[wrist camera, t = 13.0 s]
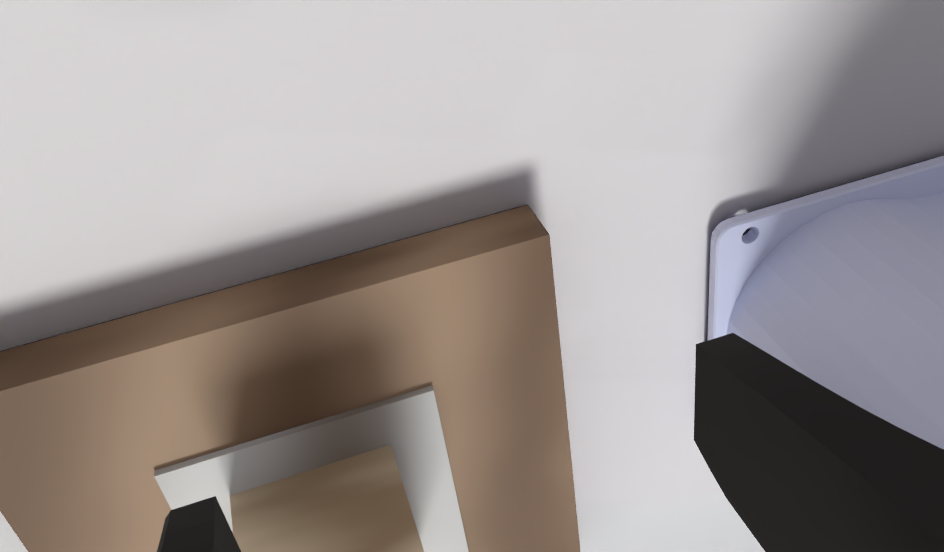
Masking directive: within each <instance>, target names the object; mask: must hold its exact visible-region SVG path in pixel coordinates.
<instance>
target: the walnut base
mask: <svg viewBox="0 0 944 552" xmlns="http://www.w3.org/2000/svg"><path fill="white" fill-rule="evenodd" d="M390 444H391V448H392V451H393V454H394V457H395V460H396V464H397V467H398V470H399V473H400V476H401V479H402V483H403V486H404V489H405V492H406V495H407V499H408V502H409V505H410V508H411V511H412V514H413V518H414V521H415V524H416V527H417V530H418V534H419V537H420V540H421V543H422V546H423V549H424V552H580V544H579V534H578V524H577V514H576V503H575V493H574V483H573V473H572V462H571V452H570V442H569V431H568V421H567V411H566V401H565V390H564V380H563V370H562V360H561V349H560V339H559V329H558V319H557V308H556V298H555V288H554V278H553V267H552V257H551V247H550V237H549V233H548V232H547V231H546V229H545V228H544V227H543V225H542V224H541V222H540V221H539V220H538V218H537V217H536V215H535V214H534V213H533V211H532V210H531V208H530V207H529V206H528V205H525V206H522V207H518V208H515V209H511V210H507V211H504V212H500V213H497V214H493V215H489V216H486V217H482V218H479V219H475V220H471V221H468V222H464V223H461V224H457V225H453V226H450V227H446V228H443V229H439V230H435V231H432V232H428V233H425V234H421V235H418V236H414V237H410V238H407V239H403V240H400V241H396V242H392V243H389V244H385V245H382V246H378V247H374V248H371V249H367V250H364V251H360V252H356V253H353V254H349V255H346V256H342V257H338V258H335V259H331V260H328V261H324V262H321V263H317V264H313V265H310V266H306V267H303V268H299V269H295V270H292V271H288V272H285V273H281V274H277V275H274V276H270V277H267V278H263V279H259V280H256V281H252V282H249V283H245V284H241V285H238V286H234V287H231V288H227V289H223V290H220V291H216V292H213V293H209V294H206V295H202V296H198V297H195V298H191V299H188V300H184V301H180V302H177V303H173V304H170V305H166V306H162V307H159V308H155V309H152V310H148V311H144V312H141V313H137V314H134V315H130V316H126V317H123V318H119V319H116V320H112V321H109V322H105V323H101V324H98V325H94V326H91V327H87V328H83V329H80V330H76V331H73V332H69V333H65V334H62V335H58V336H55V337H51V338H47V339H44V340H40V341H37V342H33V343H29V344H26V345H22V346H19V347H15V348H12V349H8V350H4V351H1V352H0V511H1V513H2V514H3V516H4V517H5V518H6V520H7V521H8V523H9V524H10V526H11V527H12V529H13V530H14V532H15V533H16V534H17V536H18V537H19V539H20V540H21V542H22V543H23V545H24V546H25V547H26V549H27V550H28V552H157V549H158V546H159V542H160V538H161V534H162V530H163V526H164V522H165V518H166V517H167V515H168V514H169V512H170V511H171V510H173V509H176V508H179V507H183V506H186V505H189V504H192V503H195V502H198V501H202V500H205V499H208V498H211V497H214V496H216V498H217V500H218V502H219V505H220V507H221V509H222V511H223V513H224V515H225V518H226V520H227V522H228V524H229V526H230V528H231V531H232V533H233V527H232V517H231V506H230V495H233V494H236V493H240V492H243V491H246V490H249V489H252V488H255V487H258V486H262V485H265V484H268V483H271V482H274V481H277V480H280V479H284V478H287V477H290V476H293V475H296V474H299V473H302V472H306V471H309V470H312V469H315V468H318V467H321V466H324V465H327V464H331V463H334V462H337V461H340V460H343V459H346V458H349V457H353V456H356V455H359V454H362V453H365V452H368V451H371V450H375V449H378V448H381V447H384V446H387V445H390Z"/></svg>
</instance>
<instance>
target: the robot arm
mask: <svg viewBox="0 0 944 552" xmlns="http://www.w3.org/2000/svg"><path fill="white" fill-rule="evenodd" d="M750 227H751V228H750ZM748 228H750V231H749V232H748V233H747V234H745V235H744V236H742V235H743V233H744V232H745V231H746V230H747V229H748ZM694 441H695V442H696V444H697V446H698V448H699V450H700V452H701V454H702V455H703V457H704V459H705V461H706V463H707V465H708V466H709V468H710V470H711V472H712V474H713V475H714V477H715V479H716V481H717V482H718V484H719V486H720V488H721V489H722V491H723V493H724V495H725V496H726V498H727V499H728V501H729V502H730V503H731V505H732V506H733V508H734V509H735V511H736V512H737V513H738V515H739V516H740V517H741V519H742V520H743V522H744V523H745V524H746V526H747V527H748V528H749V530H750V531H751V532H752V534H753V535H754V537H755V538H756V539H757V541H758V542H759V543H760V545H761V546H762V547H763V549H764V550H765V551H766V552H944V156H940V157H937V158H934V159H930V160H927V161H923V162H920V163H917V164H913V165H910V166H906V167H903V168H899V169H896V170H893V171H889V172H886V173H882V174H879V175H875V176H872V177H869V178H865V179H862V180H858V181H855V182H852V183H848V184H845V185H841V186H838V187H834V188H831V189H828V190H824V191H821V192H817V193H814V194H810V195H807V196H804V197H800V198H797V199H793V200H790V201H787V202H783V203H780V204H776V205H773V206H769V207H766V208H763V209H759V210H756V211H752V212H749V213H745V214H742V215H739V216H735V217H732V218H728V219H726V220H724V221H722V222H721V223H719V224H718V225H717V226H716V227H715V229H714V231H713V232H712V236H711V248H710V279H709V310H708V341H705V342H702V343H699V344H696V373H695V418H694ZM157 552H241V550H240V548H239V546H238V544H237V541H236V539H235V537H234V535H233V533H232V531H231V528H230V526H229V524H228V522H227V520H226V518H225V515H224V513H223V511H222V509H221V507H220V505H219V502H218V500H217V498H216V496H214V497H211V498H208V499H205V500H202V501H198V502H195V503H192V504H189V505H186V506H183V507H179V508H176V509H173V510H171V511H170V512H169V514H168V515H167V517H166V518H165V522H164V526H163V530H162V534H161V538H160V542H159V546H158V549H157Z"/></svg>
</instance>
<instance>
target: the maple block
mask: <svg viewBox="0 0 944 552" xmlns="http://www.w3.org/2000/svg"><path fill="white" fill-rule="evenodd" d="M230 506H231V517H232V527H233V535H234V537H235V539H236V541H237V544H238V546H239V548H240V550H241V552H424V549H423V546H422V543H421V540H420V537H419V534H418V530H417V527H416V524H415V521H414V518H413V514H412V511H411V508H410V505H409V502H408V499H407V495H406V492H405V489H404V486H403V483H402V479H401V476H400V473H399V470H398V467H397V464H396V460H395V457H394V454H393V451H392V448H391V444H390V445H387V446H384V447H381V448H378V449H375V450H371V451H368V452H365V453H362V454H359V455H356V456H353V457H349V458H346V459H343V460H340V461H337V462H334V463H331V464H327V465H324V466H321V467H318V468H315V469H312V470H309V471H306V472H302V473H299V474H296V475H293V476H290V477H287V478H284V479H280V480H277V481H274V482H271V483H268V484H265V485H262V486H258V487H255V488H252V489H249V490H246V491H243V492H240V493H236V494H233V495H230Z"/></svg>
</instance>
